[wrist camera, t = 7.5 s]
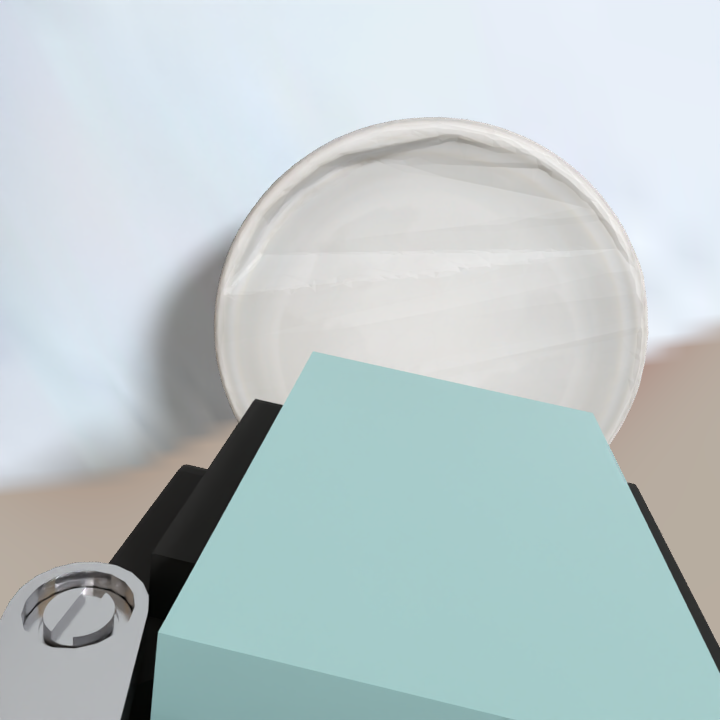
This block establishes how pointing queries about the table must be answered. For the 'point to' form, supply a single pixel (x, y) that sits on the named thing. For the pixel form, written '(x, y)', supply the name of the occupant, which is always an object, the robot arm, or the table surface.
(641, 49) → the table surface
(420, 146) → the ramekin
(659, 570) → the block
